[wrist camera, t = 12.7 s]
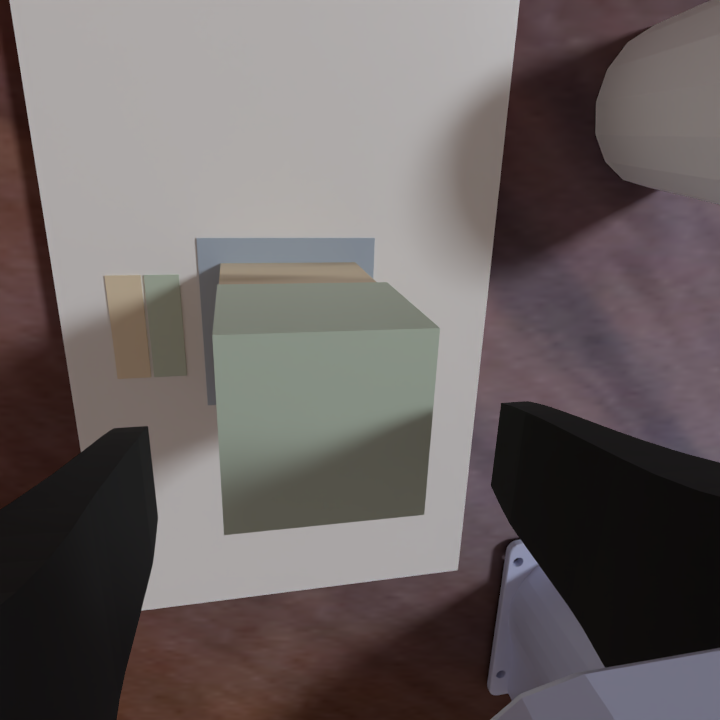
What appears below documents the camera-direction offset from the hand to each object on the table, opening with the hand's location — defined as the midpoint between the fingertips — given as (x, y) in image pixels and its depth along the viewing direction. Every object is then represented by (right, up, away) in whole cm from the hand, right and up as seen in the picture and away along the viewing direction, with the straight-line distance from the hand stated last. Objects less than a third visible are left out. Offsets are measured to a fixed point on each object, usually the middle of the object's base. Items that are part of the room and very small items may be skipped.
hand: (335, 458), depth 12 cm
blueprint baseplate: (-2, +4, +9) cm, 10 cm away
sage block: (-1, +2, +5) cm, 5 cm away
